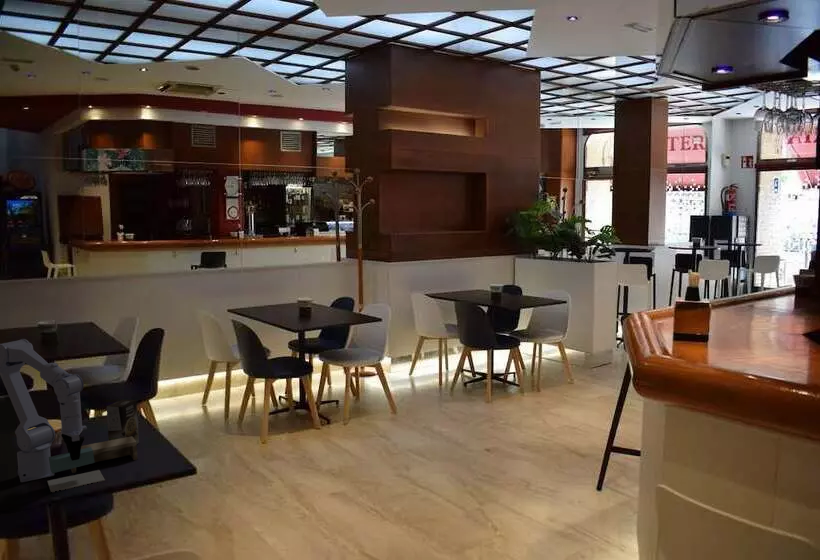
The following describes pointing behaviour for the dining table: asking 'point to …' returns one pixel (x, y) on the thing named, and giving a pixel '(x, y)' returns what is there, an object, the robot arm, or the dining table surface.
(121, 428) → the coffee box
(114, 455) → the shelf
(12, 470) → the dining table surface
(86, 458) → the block
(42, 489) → the dining table surface
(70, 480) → the mat
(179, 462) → the dining table surface
